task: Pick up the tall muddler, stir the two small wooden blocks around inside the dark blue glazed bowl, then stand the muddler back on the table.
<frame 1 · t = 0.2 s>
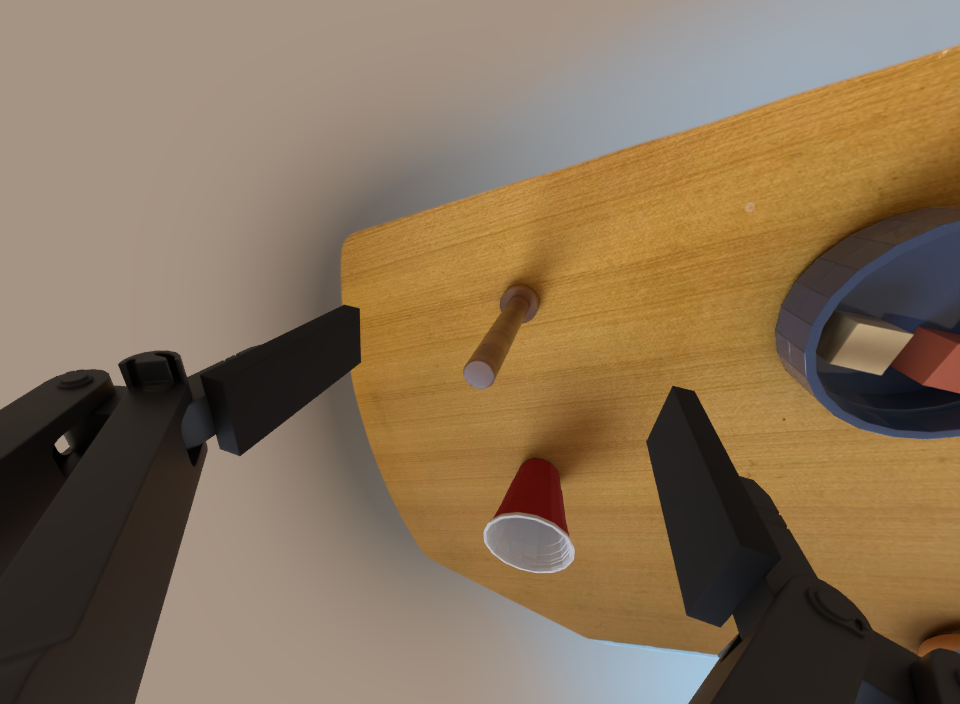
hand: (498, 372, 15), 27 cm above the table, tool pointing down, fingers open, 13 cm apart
muddler: (520, 302, 41), on the table
plastic cup: (539, 473, 51), on the table
terracotta block: (927, 351, 32), point 1 cm above the table, touching bowl
bowl: (897, 314, 32), on the table
birch block: (840, 332, 33), point 1 cm above the table, touching bowl
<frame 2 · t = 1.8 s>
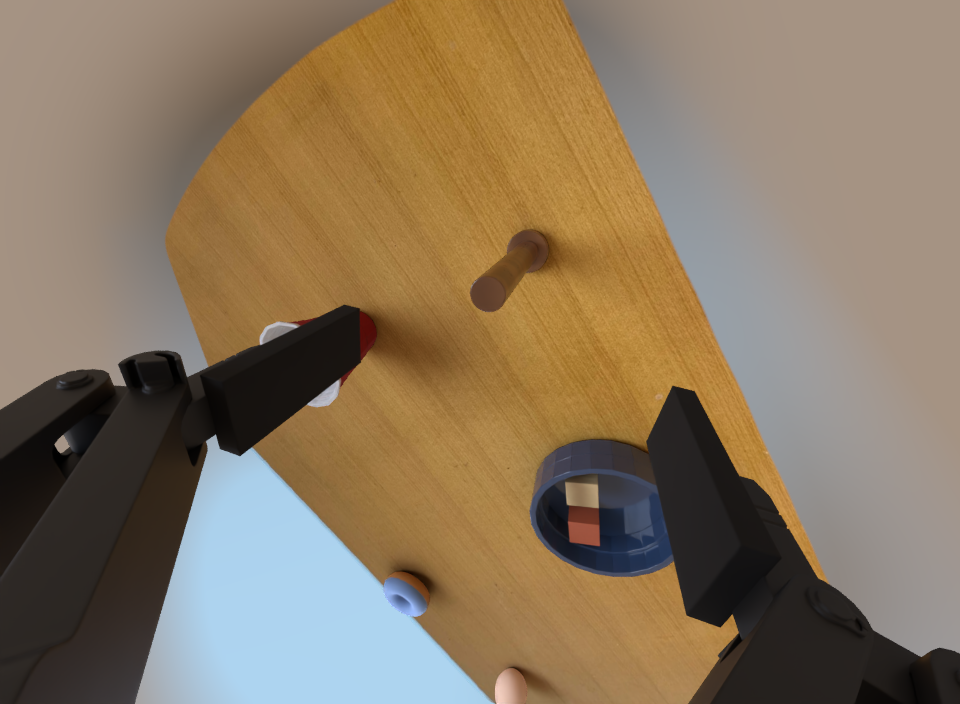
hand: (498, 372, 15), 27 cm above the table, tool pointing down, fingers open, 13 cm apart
muddler: (528, 250, 38), on the table
egg: (514, 668, 76), on the table
plastic cup: (358, 329, 49), on the table
terracotta block: (584, 510, 51), point 1 cm above the table, touching bowl
doughnut: (411, 581, 73), on the table
bowl: (601, 490, 49), on the table
birch block: (582, 473, 48), point 1 cm above the table, touching bowl
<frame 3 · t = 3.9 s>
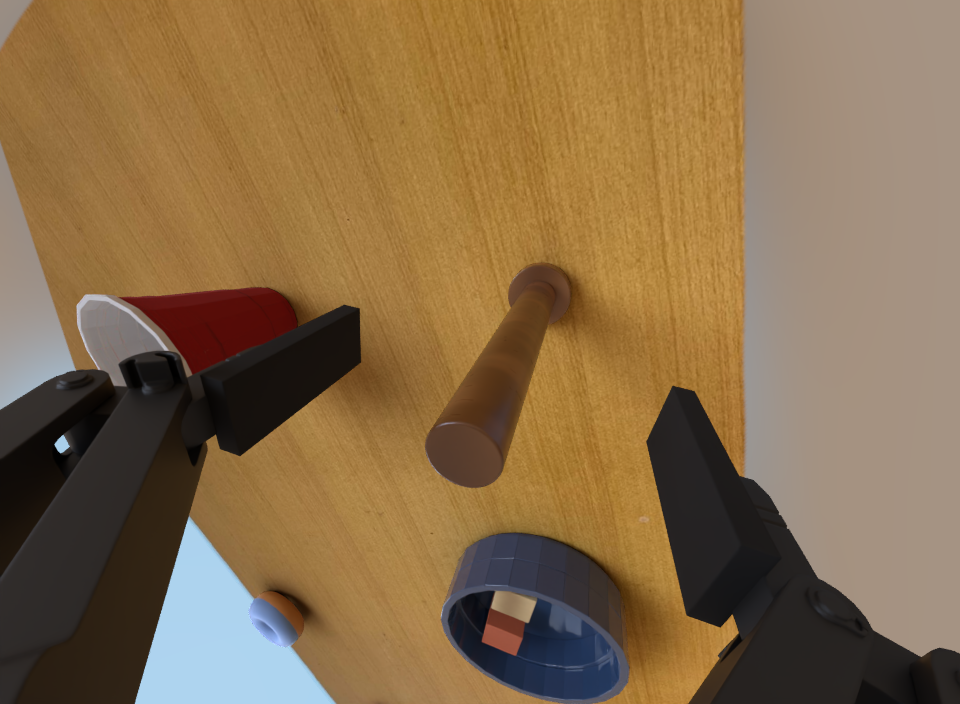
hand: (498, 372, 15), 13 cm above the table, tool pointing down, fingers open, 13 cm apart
muddler: (540, 292, 26), on the table
plastic cup: (272, 315, 34), on the table
terracotta block: (508, 602, 41), point 1 cm above the table, touching bowl
doughnut: (287, 603, 61), on the table
bowl: (536, 588, 40), on the table
birch block: (520, 567, 38), point 1 cm above the table, touching bowl
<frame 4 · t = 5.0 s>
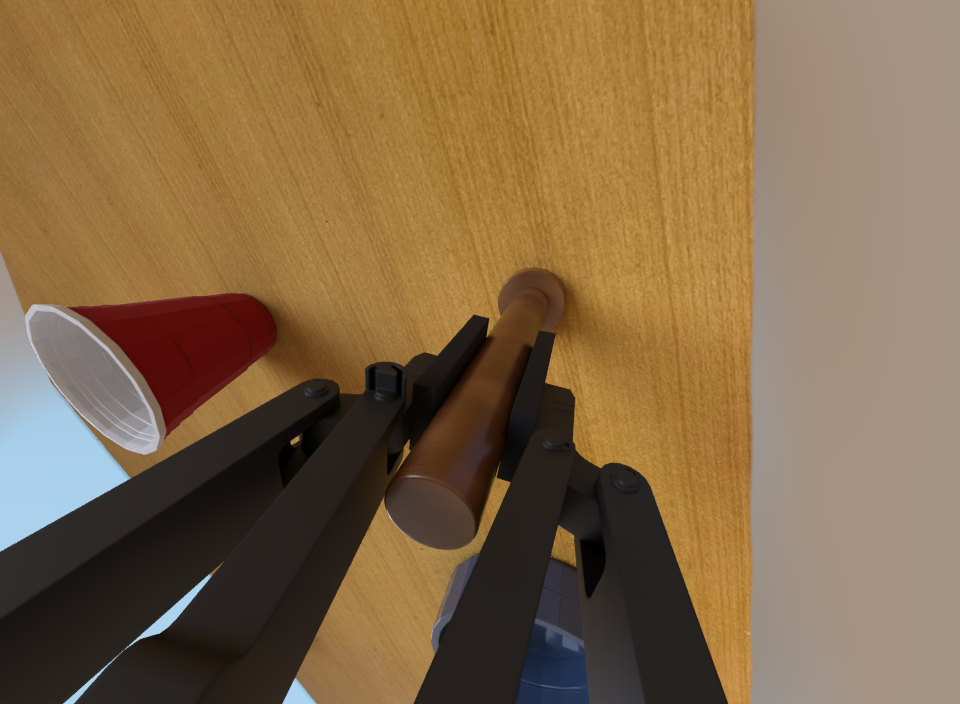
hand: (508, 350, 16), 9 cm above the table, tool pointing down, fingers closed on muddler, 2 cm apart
muddler: (533, 299, 24), on the table, touching gripper
plastic cup: (250, 322, 32), on the table
bowl: (531, 606, 38), on the table
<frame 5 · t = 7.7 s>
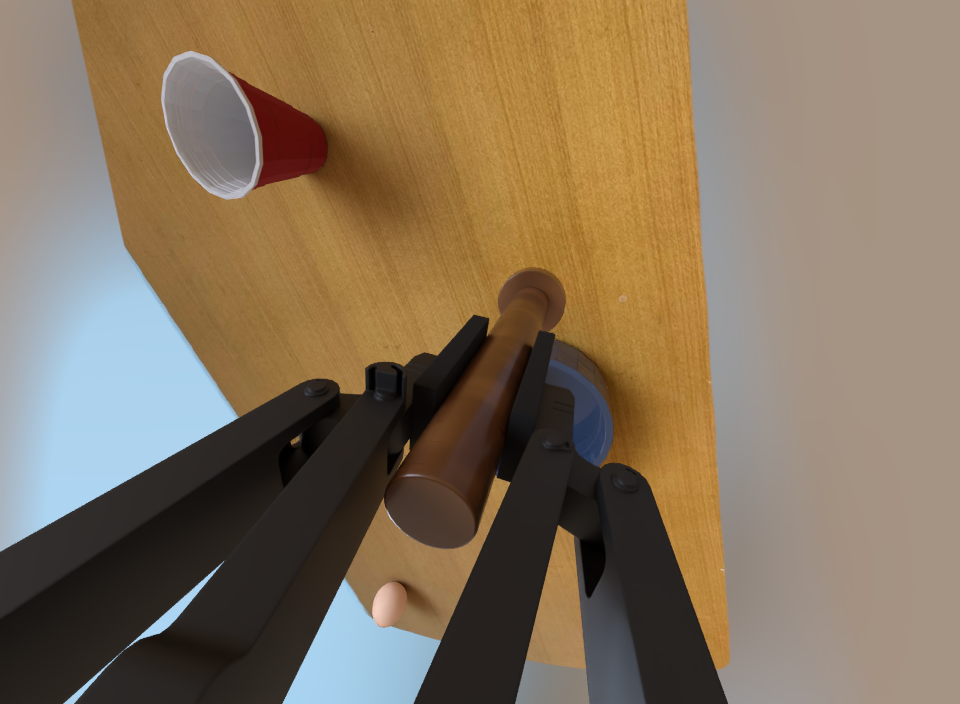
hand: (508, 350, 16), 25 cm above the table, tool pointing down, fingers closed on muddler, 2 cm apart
muddler: (532, 299, 24), point 16 cm above the table, touching gripper
egg: (399, 583, 74), on the table
plastic cup: (306, 145, 40), on the table
bowl: (535, 399, 46), on the table
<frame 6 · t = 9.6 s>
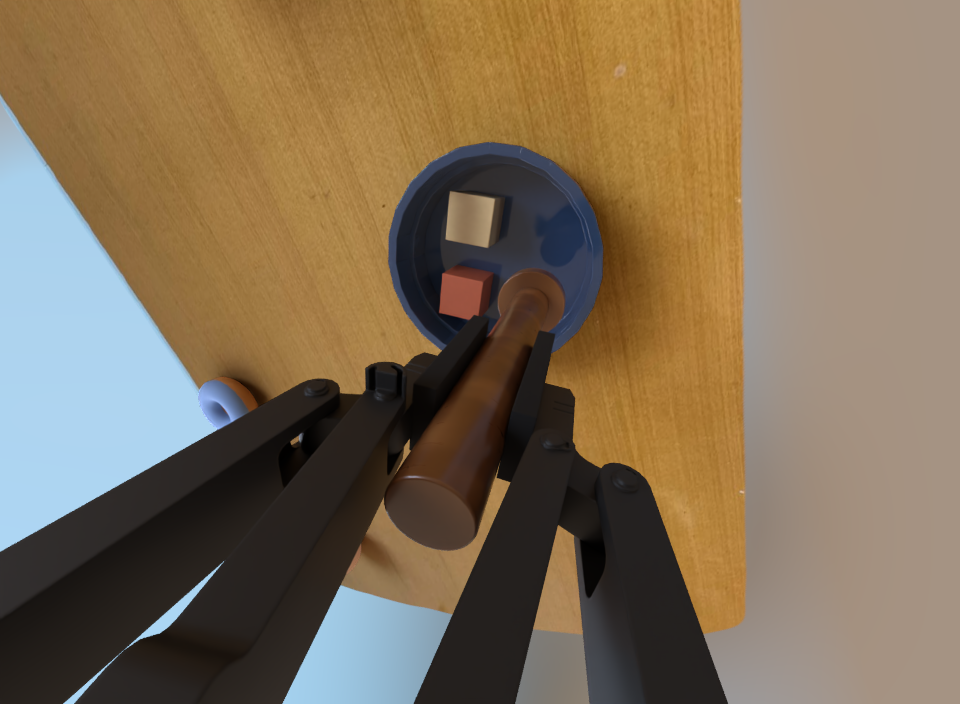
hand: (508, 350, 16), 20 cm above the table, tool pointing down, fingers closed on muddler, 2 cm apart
muddler: (532, 299, 24), point 12 cm above the table, touching gripper
terracotta block: (472, 287, 36), point 1 cm above the table, touching bowl
doughnut: (243, 398, 56), on the table
bowl: (502, 257, 35), on the table
birch block: (481, 216, 33), point 1 cm above the table, touching bowl
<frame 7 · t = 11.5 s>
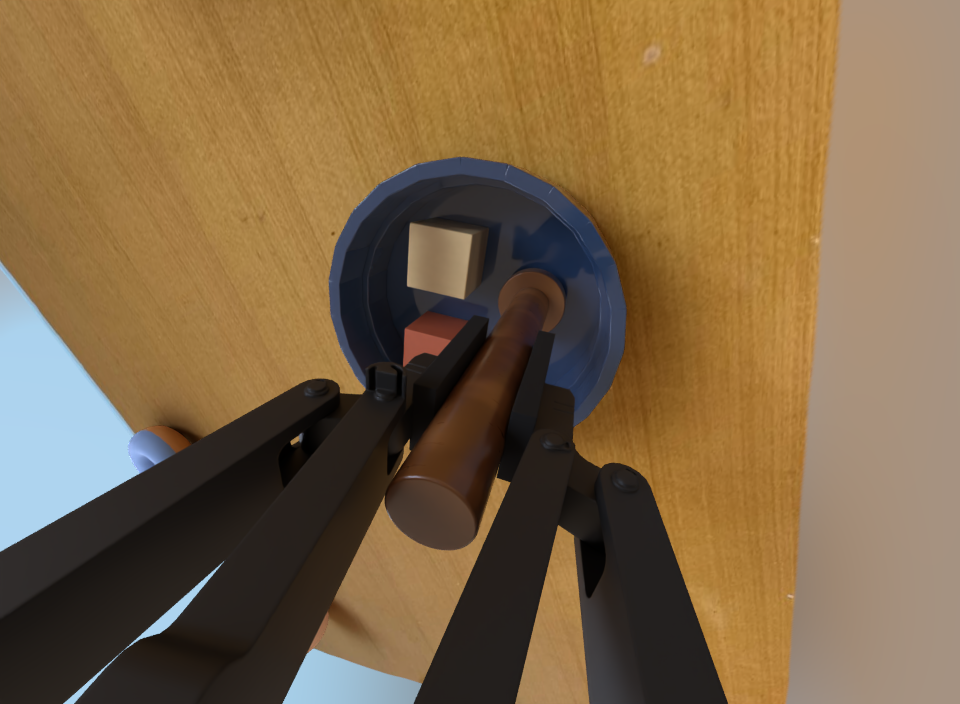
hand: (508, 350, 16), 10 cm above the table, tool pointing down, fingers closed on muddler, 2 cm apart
muddler: (533, 300, 24), point 2 cm above the table, touching gripper
egg: (320, 597, 55), on the table
terracotta block: (448, 339, 28), point 1 cm above the table, touching bowl
doughnut: (186, 448, 47), on the table
bowl: (486, 303, 27), on the table
birch block: (458, 251, 25), point 1 cm above the table, touching bowl
when the fingers open (9 cm above the table, at t = 26.3 s): muddler stays where it is, on the table.
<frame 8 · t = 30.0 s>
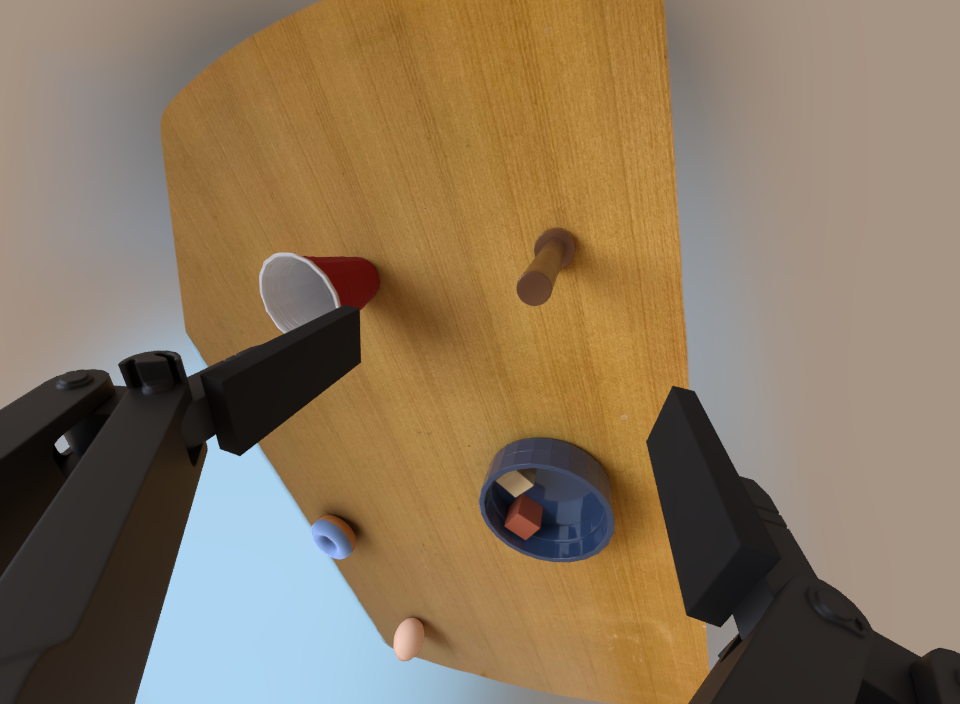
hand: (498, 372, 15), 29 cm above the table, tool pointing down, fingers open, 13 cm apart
muddler: (555, 248, 39), on the table
egg: (416, 619, 82), on the table
plastic cup: (360, 278, 48), on the table
terracotta block: (525, 506, 56), point 1 cm above the table, touching bowl
doughnut: (341, 526, 75), on the table
bowl: (547, 484, 54), on the table
birch block: (519, 463, 53), point 1 cm above the table, touching bowl
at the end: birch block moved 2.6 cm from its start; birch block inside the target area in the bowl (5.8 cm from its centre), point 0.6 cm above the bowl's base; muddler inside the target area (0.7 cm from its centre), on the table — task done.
